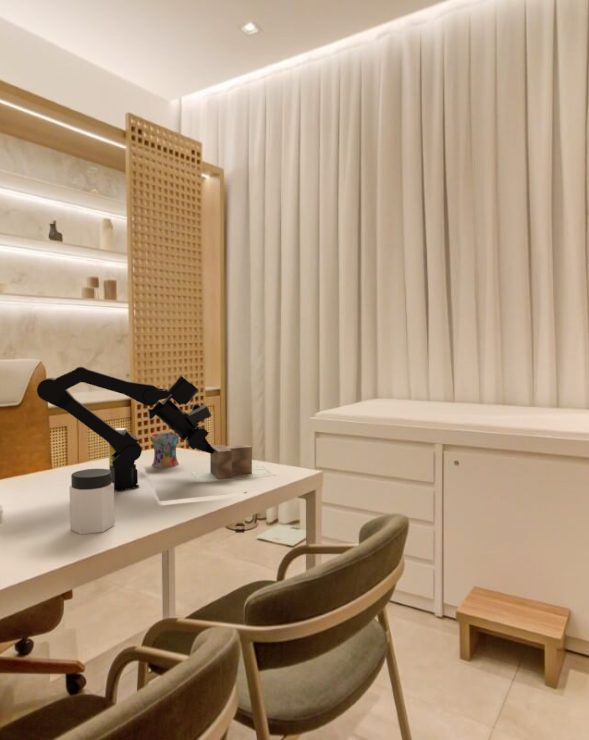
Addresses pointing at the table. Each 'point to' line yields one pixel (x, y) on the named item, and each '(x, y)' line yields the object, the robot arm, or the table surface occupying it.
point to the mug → (164, 450)
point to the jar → (91, 501)
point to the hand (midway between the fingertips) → (213, 452)
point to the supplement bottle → (111, 450)
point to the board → (209, 477)
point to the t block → (230, 461)
